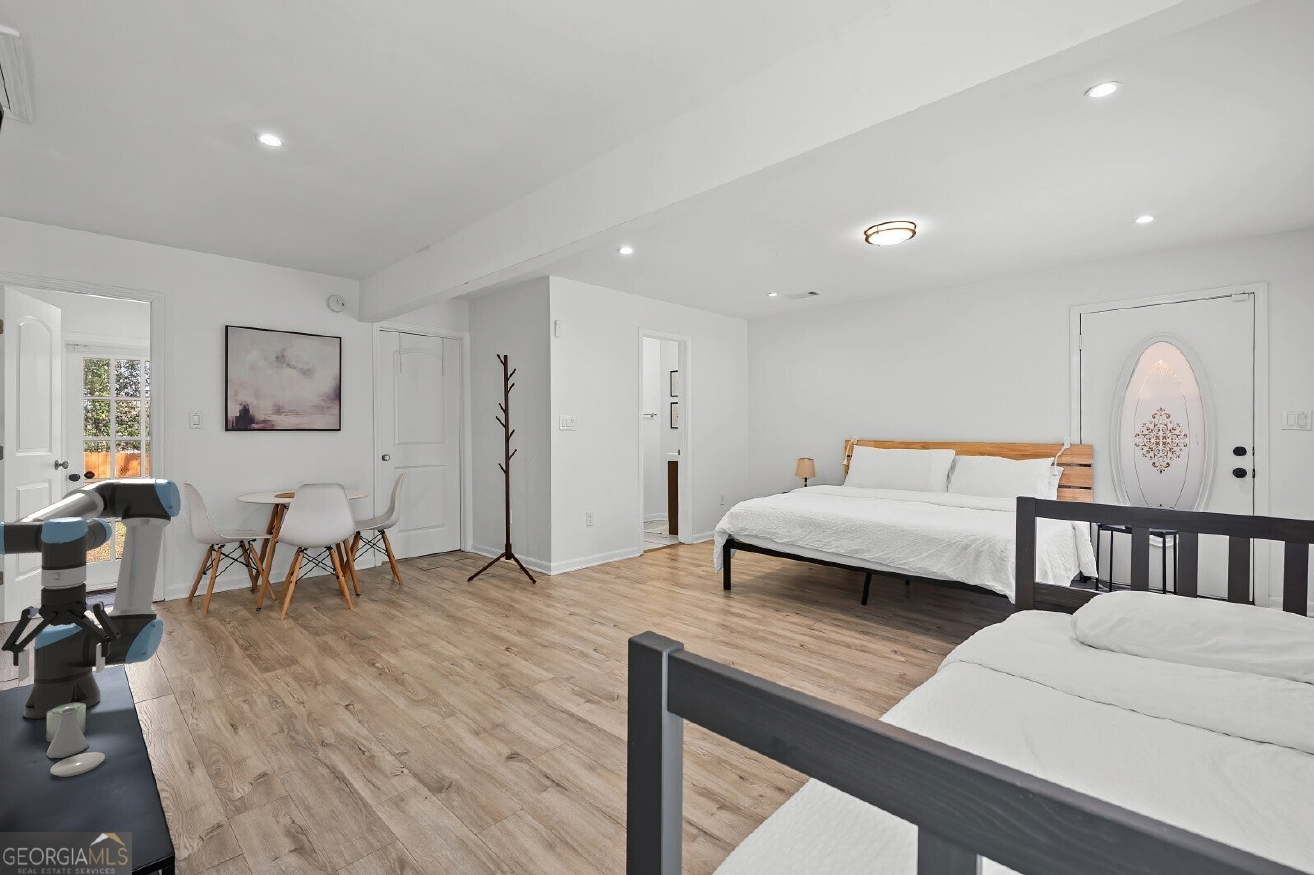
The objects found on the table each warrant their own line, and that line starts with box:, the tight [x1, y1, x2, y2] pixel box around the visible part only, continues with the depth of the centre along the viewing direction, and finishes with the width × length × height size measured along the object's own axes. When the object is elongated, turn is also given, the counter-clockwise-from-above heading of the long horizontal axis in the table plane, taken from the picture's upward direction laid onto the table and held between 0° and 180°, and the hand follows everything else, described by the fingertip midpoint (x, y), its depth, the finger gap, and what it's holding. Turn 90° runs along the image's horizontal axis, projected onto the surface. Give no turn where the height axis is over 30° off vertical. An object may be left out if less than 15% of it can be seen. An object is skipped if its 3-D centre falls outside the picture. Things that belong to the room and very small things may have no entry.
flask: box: [45, 707, 90, 759], centre depth 144 cm, size 7×7×10 cm
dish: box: [49, 751, 106, 778], centre depth 137 cm, size 9×9×1 cm
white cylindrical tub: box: [46, 703, 87, 743], centre depth 152 cm, size 7×7×7 cm
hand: (62, 674), depth 140 cm, fingers open, 13 cm apart
